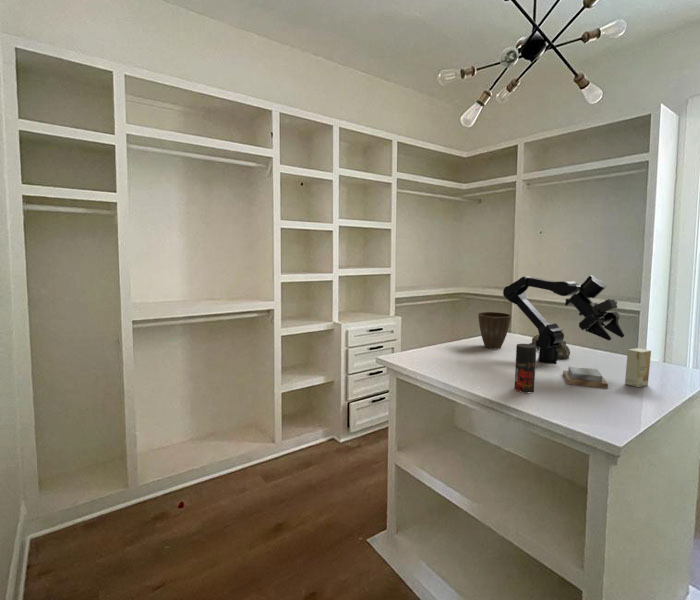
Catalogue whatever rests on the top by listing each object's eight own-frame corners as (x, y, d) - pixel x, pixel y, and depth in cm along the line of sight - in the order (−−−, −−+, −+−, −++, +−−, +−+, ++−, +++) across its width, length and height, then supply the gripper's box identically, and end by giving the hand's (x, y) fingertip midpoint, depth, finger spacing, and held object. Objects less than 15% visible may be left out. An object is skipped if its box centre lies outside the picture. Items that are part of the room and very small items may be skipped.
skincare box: (637, 387, 133) (640, 352, 131) (624, 384, 137) (626, 349, 135) (648, 385, 135) (652, 350, 134) (635, 381, 139) (638, 347, 138)
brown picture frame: (567, 383, 137) (567, 374, 136) (563, 374, 148) (563, 365, 147) (607, 388, 132) (608, 378, 132) (600, 377, 143) (601, 368, 143)
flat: (551, 343, 200) (552, 328, 199) (576, 360, 168) (577, 342, 167) (528, 342, 201) (529, 327, 201) (548, 359, 170) (549, 342, 169)
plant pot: (513, 346, 192) (515, 313, 190) (504, 352, 180) (505, 317, 178) (483, 342, 201) (484, 311, 199) (472, 347, 189) (473, 314, 188)
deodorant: (510, 388, 133) (512, 344, 131) (523, 386, 135) (525, 343, 133) (524, 394, 127) (526, 348, 125) (538, 391, 129) (540, 346, 128)
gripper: (587, 293, 141) (621, 326, 132) (614, 290, 150) (647, 321, 142) (565, 313, 148) (596, 346, 139) (592, 310, 158) (623, 340, 149)
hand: (617, 338), depth 142 cm, fingers open, 9 cm apart
